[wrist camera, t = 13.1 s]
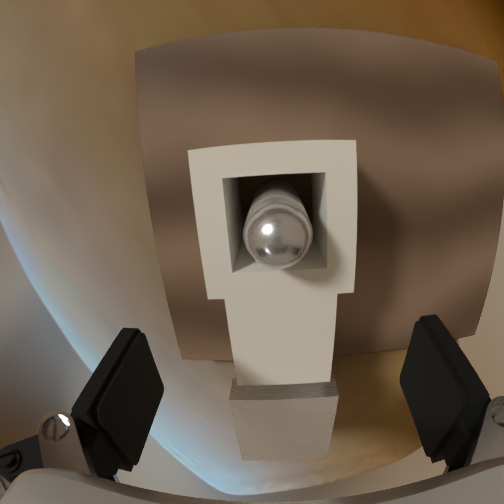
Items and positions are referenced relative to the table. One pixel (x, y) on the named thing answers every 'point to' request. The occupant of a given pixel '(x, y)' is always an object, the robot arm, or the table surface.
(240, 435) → the block
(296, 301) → the link
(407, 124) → the board
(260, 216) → the cylinder
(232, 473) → the table surface
